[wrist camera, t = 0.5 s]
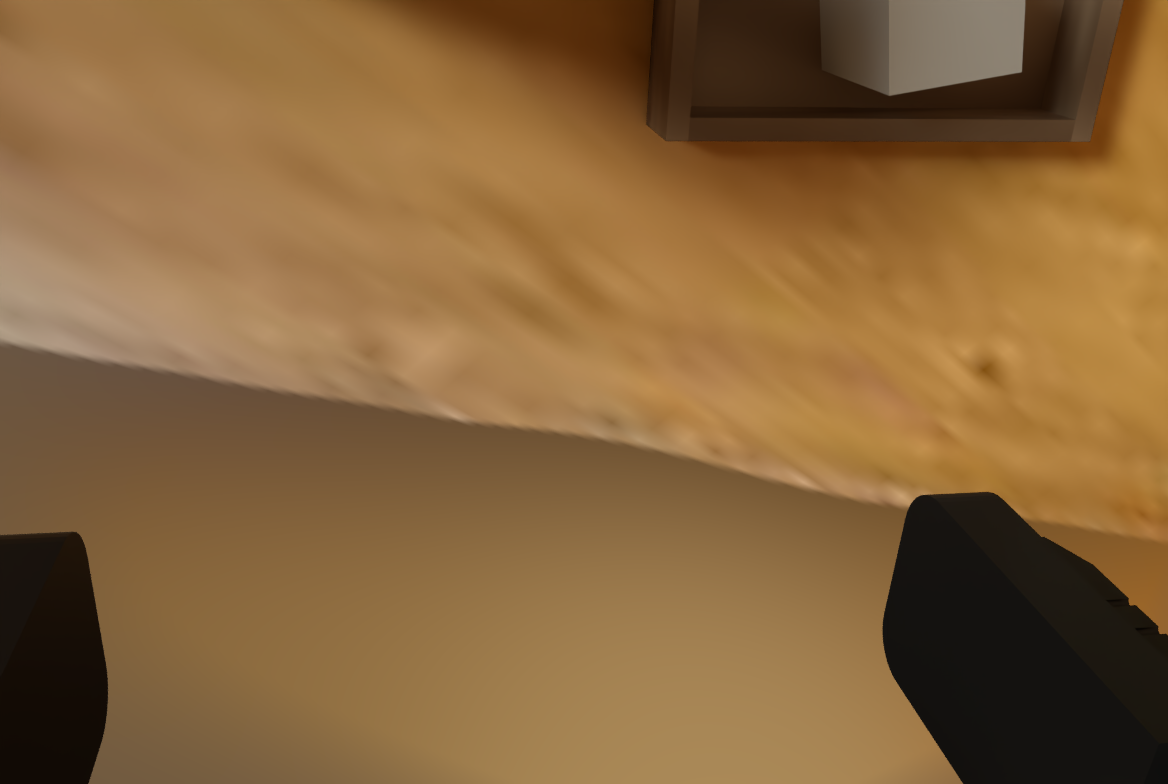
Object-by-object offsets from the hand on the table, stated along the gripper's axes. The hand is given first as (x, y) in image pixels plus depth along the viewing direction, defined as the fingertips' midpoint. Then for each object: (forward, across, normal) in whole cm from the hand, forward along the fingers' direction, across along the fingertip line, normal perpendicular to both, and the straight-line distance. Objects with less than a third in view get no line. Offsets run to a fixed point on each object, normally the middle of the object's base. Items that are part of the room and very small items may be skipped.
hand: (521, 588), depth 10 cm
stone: (+25, -14, -4) cm, 29 cm away
